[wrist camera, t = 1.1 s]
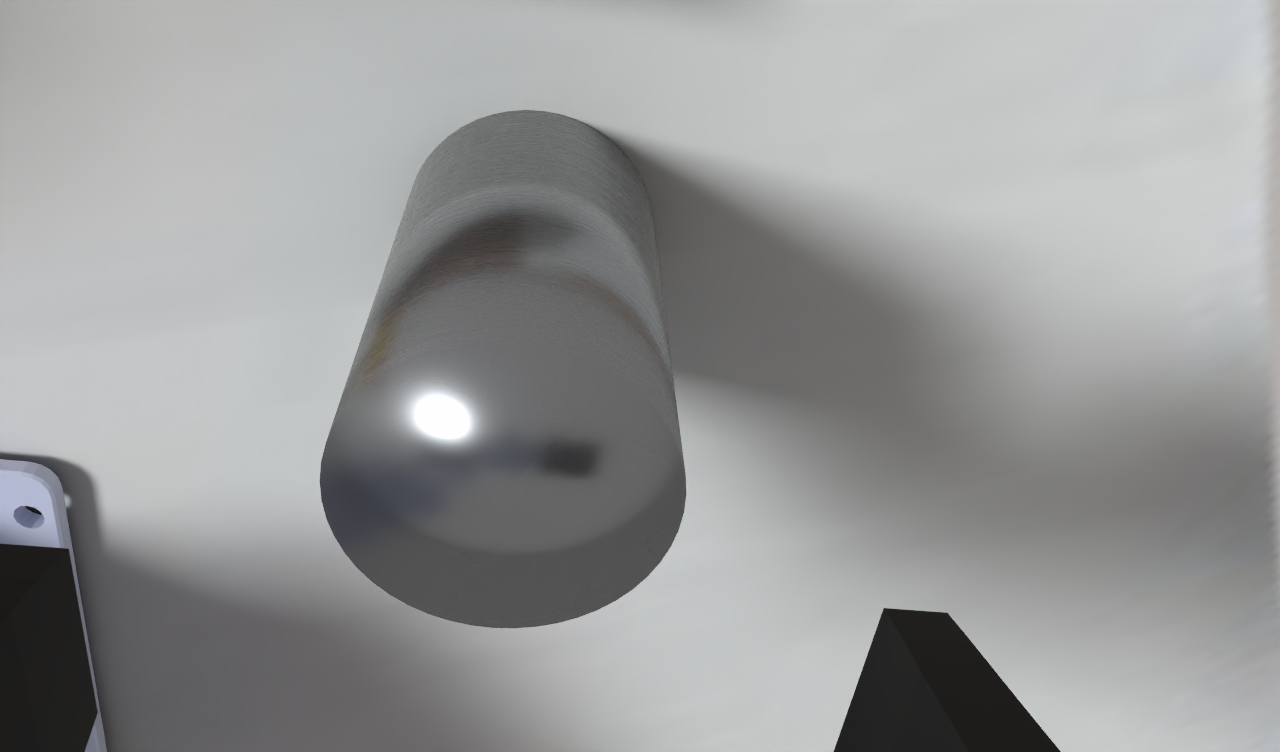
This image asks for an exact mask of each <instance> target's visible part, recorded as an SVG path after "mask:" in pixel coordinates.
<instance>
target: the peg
mask: <svg viewBox="0 0 1280 752" xmlns="http://www.w3.org/2000/svg"><path fill="white" fill-rule="evenodd" d="M320 487H321V498H322V503H323V507H324V511H325V514H326V518H327V521H328V523H329V525H330V527H331V530H332V532H333V534H334V536H335V538H336V540H337V541H338V543H339V544H340V546H341V547H342V549H343V551H344V552H345V554H346V555H347V556H348V557H349V558H350V560H351V561H352V562H353V563H354V564H355V566H356V567H357V568H358V569H359V570H360V571H361V572H362V573H363V574H365V575H366V576H367V577H368V578H369V579H370V580H371V581H372V582H373V583H375V584H376V585H377V586H379V587H380V588H382V589H383V590H384V591H386V592H387V593H388V594H390V595H392V596H393V597H395V598H397V599H399V600H400V601H402V602H404V603H406V604H407V605H410V606H412V607H414V608H416V609H419V610H421V611H423V612H426V613H428V614H431V615H434V616H437V617H440V618H443V619H446V620H450V621H455V622H459V623H464V624H468V625H475V626H484V627H492V628H522V627H536V626H542V625H548V624H554V623H559V622H563V621H566V620H570V619H574V618H578V617H580V616H583V615H585V614H588V613H591V612H593V611H596V610H598V609H600V608H602V607H604V606H606V605H608V604H610V603H612V602H614V601H616V600H617V599H619V598H620V597H622V596H623V595H625V594H626V593H628V592H629V591H631V590H632V589H633V588H635V587H636V586H637V585H638V584H639V583H640V582H642V581H643V580H644V579H645V578H646V577H647V576H648V575H649V574H650V573H651V572H652V571H653V570H654V569H655V567H656V566H657V565H658V564H659V563H660V562H661V560H662V559H663V557H664V556H665V554H666V553H667V551H668V550H669V548H670V547H671V545H672V543H673V541H674V538H675V536H676V534H677V532H678V530H679V527H680V523H681V520H682V517H683V513H684V507H685V499H686V478H685V468H684V460H683V452H682V444H681V437H680V429H679V421H678V413H677V405H676V397H675V390H674V382H673V374H672V366H671V358H670V350H669V342H668V335H667V327H666V319H665V311H664V303H663V295H662V288H661V280H660V272H659V264H658V256H657V248H656V241H655V233H654V225H653V217H652V211H651V206H650V201H649V197H648V194H647V191H646V188H645V185H644V183H643V181H642V179H641V177H640V175H639V173H638V172H637V170H636V169H635V167H634V166H633V164H632V163H631V161H630V160H629V159H628V157H627V156H626V155H625V154H624V153H623V152H622V151H621V150H620V149H619V148H618V146H616V145H615V144H614V143H613V142H612V141H610V140H609V139H608V138H607V137H606V136H604V135H603V134H601V133H600V132H598V131H597V130H595V129H593V128H592V127H590V126H588V125H586V124H584V123H582V122H579V121H577V120H575V119H572V118H569V117H566V116H563V115H559V114H554V113H549V112H544V111H529V110H523V111H508V112H503V113H498V114H493V115H490V116H487V117H484V118H481V119H478V120H476V121H473V122H471V123H469V124H467V125H465V126H463V127H461V128H460V129H459V130H457V131H456V132H454V133H453V134H451V135H450V136H448V137H447V138H446V139H445V140H444V141H443V142H442V143H441V144H439V145H438V146H437V147H436V148H435V150H434V151H433V152H432V153H431V154H430V156H429V157H428V158H427V159H426V161H425V163H424V164H423V166H422V168H421V169H420V171H419V173H418V175H417V177H416V180H415V182H414V184H413V187H412V190H411V193H410V196H409V199H408V202H407V205H406V208H405V211H404V214H403V217H402V220H401V223H400V226H399V229H398V231H397V234H396V237H395V240H394V243H393V246H392V249H391V252H390V255H389V258H388V261H387V264H386V267H385V270H384V273H383V276H382V279H381V282H380V285H379V288H378V291H377V294H376V297H375V300H374V303H373V305H372V308H371V311H370V314H369V317H368V320H367V323H366V326H365V329H364V332H363V335H362V338H361V341H360V344H359V347H358V350H357V353H356V356H355V359H354V362H353V365H352V368H351V371H350V374H349V376H348V379H347V382H346V385H345V388H344V391H343V394H342V397H341V400H340V403H339V406H338V409H337V412H336V415H335V418H334V421H333V424H332V427H331V430H330V433H329V436H328V439H327V442H326V445H325V449H324V453H323V457H322V461H321V473H320Z"/></svg>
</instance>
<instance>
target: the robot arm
mask: <svg viewBox="0 0 1280 752" xmlns="http://www.w3.org/2000/svg"><path fill="white" fill-rule="evenodd" d="M25 506H30V507H34V508H36V509H37V510H39V511H40V512H41V513H42V514H41V515H40V514H36V513H32V512H31V511H30V510H28V509H27V508H26V507H25ZM0 752H107V748H106V742H105V736H104V730H103V724H102V718H101V713H100V707H99V701H98V695H97V689H96V683H95V677H94V672H93V666H92V660H91V654H90V648H89V642H88V636H87V630H86V625H85V619H84V613H83V607H82V601H81V595H80V589H79V583H78V578H77V572H76V566H75V560H74V554H73V548H72V542H71V537H70V531H69V525H68V519H67V513H66V507H65V501H64V495H63V490H62V485H61V483H60V480H59V478H58V477H57V476H56V475H55V474H54V473H53V472H52V471H51V470H50V469H48V468H46V467H45V466H43V465H41V464H37V463H33V462H27V461H16V460H4V459H0ZM834 752H1061V751H1060V750H1059V749H1058V748H1057V747H1056V745H1055V744H1054V743H1053V742H1052V741H1051V739H1050V738H1049V737H1048V736H1047V735H1046V733H1045V732H1044V731H1043V730H1042V729H1041V727H1040V726H1039V725H1038V724H1037V722H1036V721H1035V720H1034V719H1033V717H1032V716H1031V715H1030V714H1029V713H1028V711H1027V710H1026V709H1025V708H1024V706H1023V705H1022V704H1021V703H1020V702H1019V700H1018V699H1017V698H1016V697H1015V695H1014V694H1013V693H1012V692H1011V690H1010V689H1009V688H1008V687H1007V686H1006V684H1005V683H1004V682H1003V681H1002V679H1001V678H1000V677H999V676H998V674H997V673H996V672H995V671H994V669H993V668H992V667H991V666H990V664H989V663H988V662H987V661H986V659H985V658H984V657H983V656H982V655H981V653H980V652H979V651H978V650H977V648H976V647H975V646H974V645H973V643H972V642H971V641H970V640H969V638H968V637H967V636H966V635H965V634H964V632H963V631H962V630H961V629H960V628H959V626H958V625H957V624H956V623H955V622H954V620H953V619H952V618H951V617H950V616H949V614H948V613H941V612H927V611H914V610H900V609H887V608H884V610H883V612H882V615H881V618H880V621H879V624H878V627H877V630H876V632H875V635H874V638H873V641H872V644H871V647H870V650H869V652H868V655H867V658H866V661H865V664H864V667H863V670H862V672H861V675H860V678H859V681H858V684H857V687H856V690H855V692H854V695H853V698H852V701H851V704H850V707H849V710H848V712H847V715H846V718H845V721H844V724H843V727H842V730H841V732H840V735H839V738H838V741H837V744H836V747H835V750H834Z"/></svg>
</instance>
